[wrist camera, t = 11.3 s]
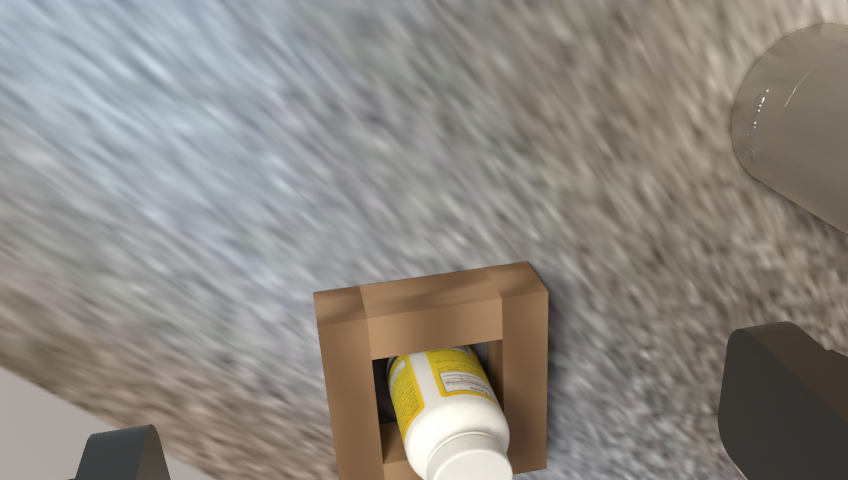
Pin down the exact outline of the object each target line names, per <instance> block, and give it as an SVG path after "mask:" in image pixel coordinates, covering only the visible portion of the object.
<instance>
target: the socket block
mask: <svg viewBox="0 0 848 480" xmlns="http://www.w3.org/2000/svg"><path fill="white" fill-rule="evenodd" d="M313 294H314V302H315V310H316V319H317V327H318V334H319V341H320V348H321V355H322V362H323V369H324V376H325V383H326V390H327V397H328V404H329V411H330V418H331V425H332V431H333V438H334V445H335V452H336V459H337V466H338V473H339V480H424V479H422V478H421V477H420V476H419V475H418V474H417V473H416V472H415V471H414V470H413V468H412V467H411V465H410V463H409V461H408V458H407V455H406V452H405V449H404V444H403V441H402V437H401V432H400V429H399V425H398V421H394V422H388V423H382V424H379V422H378V413H377V403H376V394H375V385H374V376H373V367H372V360H375V359H381V358H387V357H394V356H400V355H406V354H412V353H419V352H425V351H431V350H437V349H444V348H450V347H456V346H462V345H469V344H475V343H481V342H487V374H488V381H489V383H490V386H491V388H492V390H493V392H494V394H495V396H496V399H497V401H498V403H499V405H500V407H501V409H502V411H503V414H504V416H505V418H506V421H507V424H508V427H509V445H508V449H507V452H506V454H507V457H508V459H509V462H510V464H511V467H512V472H513V475H514V474H520V473H525V472H530V471H536V470H541V469H546V447H547V360H548V290H547V289H546V287H545V286H544V284H543V283H542V281H541V280H540V279H539V277H538V276H537V274H536V273H535V271H534V270H533V269H532V267H531V266H530V264H529V263H528V261H527V262H520V263H513V264H507V265H500V266H493V267H486V268H479V269H472V270H465V271H458V272H451V273H445V274H438V275H431V276H424V277H417V278H410V279H403V280H396V281H390V282H383V283H376V284H369V285H362V286H355V287H348V288H341V289H334V290H328V291H321V292H314V293H313Z"/></svg>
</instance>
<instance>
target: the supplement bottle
mask: <svg viewBox="0 0 848 480" xmlns="http://www.w3.org/2000/svg"><path fill="white" fill-rule="evenodd" d="M386 377H387V383H388V388H389V392H390V395H391V399H392V402H393V406H394V409H395V413H396V417H397V421H398V425H399V429H400V432H401V437H402V441H403V444H404V449H405V452H406V455H407V458H408V461H409V463H410V465H411V467H412V468H413V470H414V471H415V472H416V473H417V474H418V475H419V476H420V477H421V478H422V479H424V480H512V479H513V472H512V467H511V464H510V462H509V459H508V457H507V454H506V452H507V449H508V445H509V427H508V424H507V421H506V418H505V416H504V414H503V411H502V409H501V407H500V405H499V403H498V401H497V399H496V396H495V394H494V392H493V390H492V388H491V386H490V383H489V381H488V379H487V377H486V375H485V373H484V371H483V368H482V366H481V364H480V362H479V360H478V358H477V356H476V354H475V352H474V350H473V348H472V347H471V346H470V344H469V345H462V346H456V347H450V348H444V349H437V350H431V351H425V352H419V353H412V354H406V355H400V356H394V357H390V359H389V361H388V364H387V370H386Z"/></svg>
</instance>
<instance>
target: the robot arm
mask: <svg viewBox="0 0 848 480" xmlns="http://www.w3.org/2000/svg"><path fill="white" fill-rule="evenodd" d="M731 139H732V144H733V148H734V152H735V154H736V156H737V158H738V160H739V162H740V164H741V166H742V167H743V168H744V169H745V170H746V171H747V172H748V174H749V175H751V176H752V177H754V178H755V179H757V180H758V181H760V182H761V183H763V184H765V185H766V186H768V187H770V188H771V189H773V190H775V191H776V192H778V193H779V194H781V195H783V196H784V197H786V198H788V199H789V200H791V201H793V202H794V203H796V204H797V205H799V206H800V207H802V208H804V209H805V210H807V211H809V212H810V213H812V214H814V215H815V216H817V217H819V218H820V219H822V220H824V221H825V222H827V223H829V224H830V225H832V226H834V227H835V228H837V229H839V230H840V231H842V232H844V233H845V234H847V235H848V26H846V25H840V24H833V23H828V24H817V25H812V26H809V27H806V28H803V29H800V30H797V31H795V32H794V33H792V34H790V35H788V36H786V37H785V38H783V39H781V40H780V41H779V42H777V43H776V44H775V45H774V46H772V47H771V48H770V49H769V50H767V51H766V52H765V53H764V54H763V56H762V57H761V58H760V59H759V60H758V61H757V62H756V64H755V65H754V66H753V67H752V69H751V70H750V72H749V73H748V75H747V77H746V78H745V80H744V81H743V83H742V85H741V88H740V90H739V93H738V95H737V97H736V100H735V103H734V108H733V113H732V117H731ZM718 426H719V432H720V436H721V440H722V442H723V445H724V447H725V450H726V452H727V453H728V455H729V457H730V458H731V460H732V461H733V462H734V464H735V465H736V466H737V467H738V468H739V470H740V471H741V472H742V473H743V475H744V476H745V477H746V478H747V480H848V357H846V356H844V355H842V354H840V353H837V352H835V351H833V350H826V349H825V348H823V347H822V346H821V345H820V344H819V343H817V342H816V341H815V340H814V339H812V338H811V337H810V336H809V335H808V334H806V333H805V332H804V331H803V330H802V329H800V328H799V327H798V326H796V325H795V324H793V323H791V322H787V321H785V322H778V323H772V324H766V325H760V326H754V327H748V328H742V329H737V330H735V331H734V332H733V333H732V334H731V335H730V337H729V340H728V345H727V352H726V359H725V367H724V374H723V382H722V389H721V396H720V404H719V411H718ZM69 480H171V479H170V476H169V472H168V468H167V465H166V461H165V458H164V453H163V450H162V446H161V442H160V439H159V435H158V433H157V430H156V428H155V427H154V426H153V425H152V424H151V425H145V426H139V427H133V428H127V429H121V430H115V431H109V432H103V433H96V434H92V435H91V436H90V437H89V438H88V440H87V443H86V446H85V449H84V452H83V455H82V458H81V462H80V465H79V468H78V471H77V474H76V477H75V479H69Z"/></svg>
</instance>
